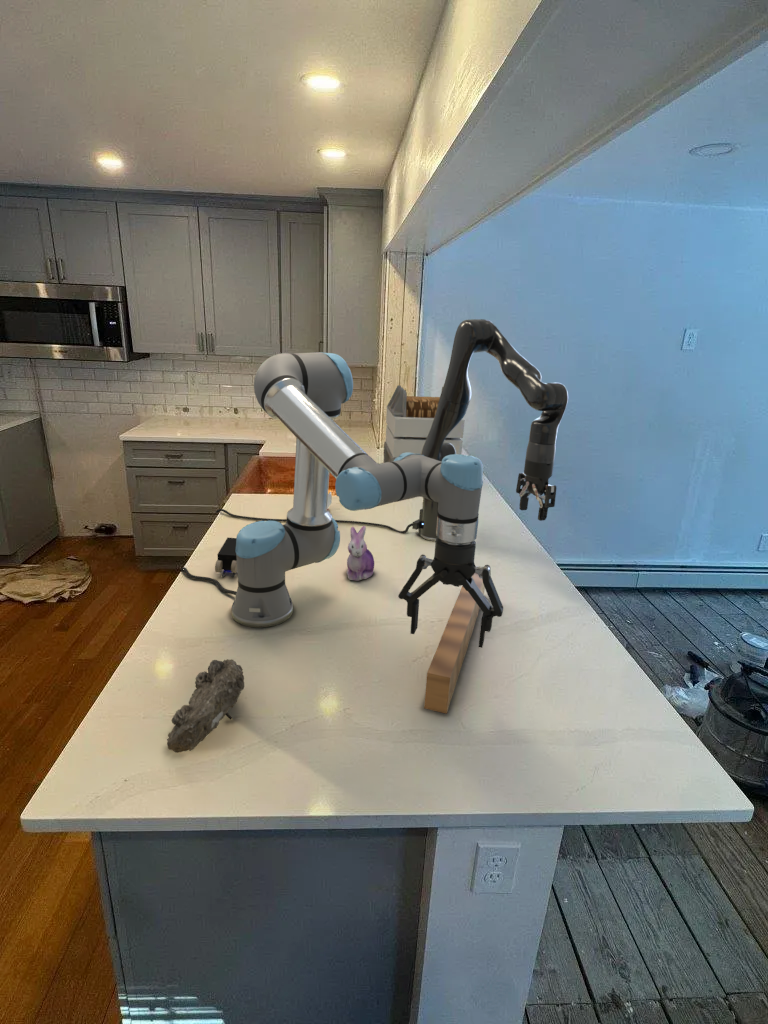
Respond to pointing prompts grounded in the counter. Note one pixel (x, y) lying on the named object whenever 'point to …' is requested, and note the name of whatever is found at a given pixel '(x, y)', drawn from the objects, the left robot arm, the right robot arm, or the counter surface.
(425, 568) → the left robot arm
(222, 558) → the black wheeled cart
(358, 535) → the figurine
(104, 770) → the counter surface
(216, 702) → the fossil
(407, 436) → the grey stacking crate
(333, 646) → the counter surface
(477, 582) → the post
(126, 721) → the counter surface
